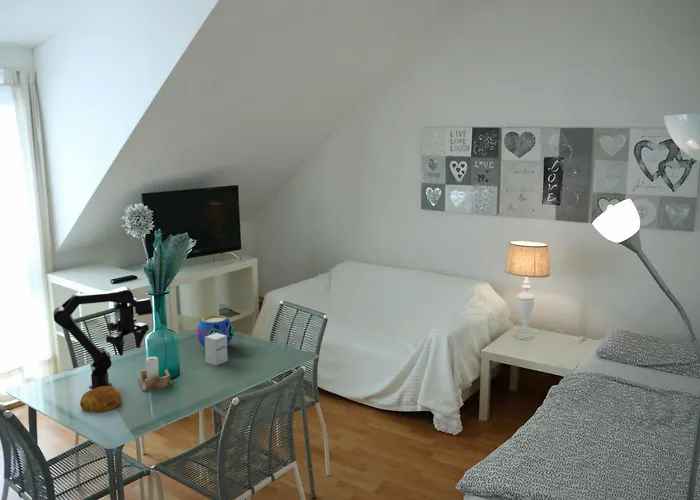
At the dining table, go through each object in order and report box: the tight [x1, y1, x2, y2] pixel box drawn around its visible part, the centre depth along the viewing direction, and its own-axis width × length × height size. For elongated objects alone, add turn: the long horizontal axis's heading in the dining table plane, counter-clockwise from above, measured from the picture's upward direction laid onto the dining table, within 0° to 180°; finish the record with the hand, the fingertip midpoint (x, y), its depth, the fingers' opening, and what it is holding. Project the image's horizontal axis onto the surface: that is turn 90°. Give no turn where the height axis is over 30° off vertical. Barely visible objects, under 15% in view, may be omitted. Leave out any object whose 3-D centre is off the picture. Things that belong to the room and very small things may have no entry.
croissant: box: [79, 385, 123, 414], centre depth 247 cm, size 14×16×8 cm
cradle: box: [137, 368, 173, 392], centre depth 268 cm, size 12×13×4 cm
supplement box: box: [204, 333, 229, 367], centre depth 291 cm, size 7×7×13 cm
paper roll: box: [145, 356, 160, 379], centre depth 267 cm, size 5×5×10 cm
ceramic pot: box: [196, 314, 235, 348], centre depth 309 cm, size 18×18×15 cm
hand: (129, 351), depth 269 cm, fingers open, 9 cm apart
